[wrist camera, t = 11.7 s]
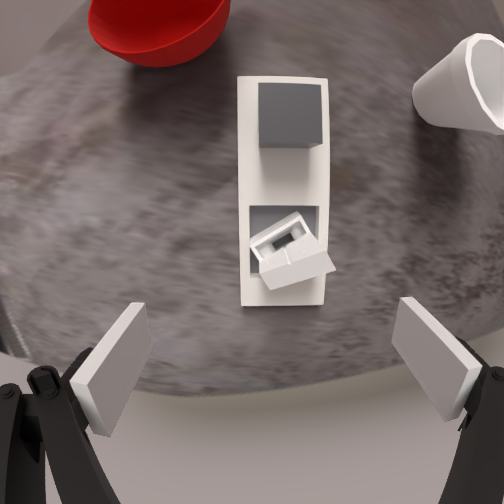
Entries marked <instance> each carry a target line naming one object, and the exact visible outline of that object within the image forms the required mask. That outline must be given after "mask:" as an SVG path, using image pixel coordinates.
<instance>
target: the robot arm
mask: <svg viewBox="0 0 504 504" xmlns="http://www.w3.org/2000/svg"><path fill="white" fill-rule="evenodd" d="M391 343H392V344H393V345H394V347H395V348H396V350H397V351H398V353H399V354H400V356H401V357H402V358H403V360H404V361H405V363H406V364H407V366H408V367H409V368H410V370H411V372H412V373H413V374H414V376H415V377H416V379H417V380H418V382H419V383H420V385H421V386H422V388H423V389H424V391H425V392H426V394H427V396H428V397H429V398H430V400H431V402H432V403H433V405H434V406H435V408H436V409H437V411H438V413H439V414H440V416H441V417H442V419H443V421H444V422H447V421H450V420H453V419H456V418H458V417H459V415H460V413H461V411H462V409H463V407H464V408H465V409H466V411H467V414H466V416H465V418H464V420H463V422H462V424H461V425H460V427H459V429H458V431H460V430H461V428H462V431H461V435H460V439H459V443H458V447H457V450H456V454H455V457H454V461H453V464H452V467H451V470H450V473H449V476H448V479H447V482H446V485H445V488H444V490H443V493H442V496H441V498H440V501H439V503H438V504H502V501H503V496H504V368H502V367H497V366H494V367H490V366H489V365H488V364H487V363H486V362H485V361H484V360H483V359H482V358H481V357H480V356H479V355H478V354H477V353H475V351H474V350H473V349H472V348H470V346H469V345H468V344H467V343H466V342H465V341H463V340H462V339H460V338H458V337H454V336H453V335H452V334H451V333H450V332H449V331H448V330H447V329H446V328H445V327H444V326H443V325H441V324H440V323H439V322H438V321H437V320H436V319H435V318H434V317H433V316H432V315H431V314H430V313H429V312H428V311H427V310H426V309H425V308H424V307H423V306H421V305H420V304H419V303H418V302H417V301H416V300H415V299H414V298H413V297H402V298H400V301H399V306H398V312H397V317H396V322H395V327H394V332H393V336H392V341H391ZM152 350H153V344H152V339H151V334H150V328H149V323H148V317H147V311H146V305H145V303H133V302H132V303H131V304H130V305H129V306H128V307H127V309H126V310H125V311H124V312H123V313H122V315H121V316H120V317H119V318H118V320H117V321H116V322H115V323H114V324H113V326H112V327H111V328H110V329H109V331H108V332H107V333H106V334H105V336H104V337H103V338H102V339H101V341H100V342H99V343H98V345H97V346H96V347H95V348H90V347H89V348H88V349H86V350H84V351H83V352H81V353H80V354H79V356H78V357H77V358H76V359H75V361H74V362H73V363H72V364H71V367H69V368H68V369H67V370H66V372H65V373H64V374H63V376H62V377H61V378H60V376H59V374H58V371H57V370H56V368H54V367H52V366H47V365H46V366H40V367H37V368H35V369H33V370H32V371H31V372H30V373H29V374H28V376H27V382H28V384H29V386H30V388H31V390H32V392H33V394H22V392H21V390H20V388H19V386H18V385H16V384H13V383H9V384H5V385H2V386H1V387H0V504H46V492H45V450H46V454H47V458H48V461H49V465H50V468H51V472H52V475H53V478H54V481H55V485H56V488H57V490H58V493H59V496H60V499H61V502H62V504H121V503H120V502H119V500H118V498H117V496H116V495H115V493H114V491H113V489H112V487H111V486H110V483H109V482H108V479H107V478H106V475H105V473H104V472H103V469H102V467H101V465H100V463H99V461H98V459H97V456H96V454H95V452H94V450H93V447H92V445H91V443H90V440H89V438H88V435H87V433H86V432H85V429H86V428H87V426H88V424H89V426H90V427H91V429H92V431H93V433H94V434H99V435H103V436H107V437H110V436H111V434H112V432H113V430H114V428H115V426H116V423H117V421H118V419H119V417H120V415H121V413H122V411H123V409H124V407H125V404H126V402H127V400H128V398H129V396H130V394H131V392H132V390H133V388H134V386H135V384H136V382H137V380H138V378H139V376H140V374H141V372H142V370H143V368H144V366H145V364H146V362H147V360H148V358H149V356H150V354H151V352H152Z"/></svg>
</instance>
